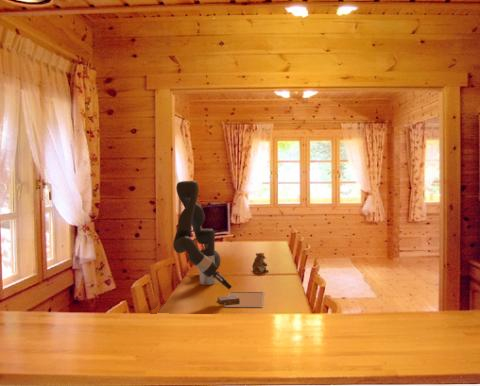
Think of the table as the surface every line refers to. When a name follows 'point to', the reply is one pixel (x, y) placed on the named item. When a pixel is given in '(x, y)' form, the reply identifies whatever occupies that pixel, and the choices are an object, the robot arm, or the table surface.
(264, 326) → the table surface
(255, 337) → the table surface
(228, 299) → the walnut tile
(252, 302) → the picture frame
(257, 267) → the brown bear figurine
